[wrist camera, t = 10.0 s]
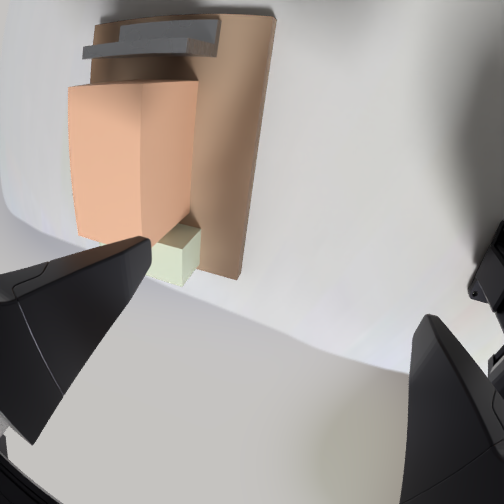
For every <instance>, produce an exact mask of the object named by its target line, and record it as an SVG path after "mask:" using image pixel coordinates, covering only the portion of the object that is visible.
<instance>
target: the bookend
mask: <svg viewBox="0 0 504 504" xmlns="http://www.w3.org/2000/svg"><path fill="white" fill-rule="evenodd" d="M221 22H222V21H220V20H214V19H205V20H174V21H159V22H148V23H138V24H130V25H123V26H120V34H119V42H113V43H105V44H98V45H92V46H85V47H83V58H82V59H103V58H135V57H162V56H187V57H215V58H217V51H218V44H219V37H220V29H221Z"/></svg>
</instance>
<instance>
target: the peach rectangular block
mask: <svg viewBox="0 0 504 504" xmlns="http://www.w3.org/2000/svg"><path fill="white" fill-rule="evenodd" d="M198 83H199V81H190V80H160V79H136V80H121V81H111V82H102V83H94V84H86V85H79V86H73V87H68V132H69V154H70V168H71V180H72V190H73V199H74V207H75V215H76V222H77V229H78V235H79V236H82V237H85V238H88V239H91V240H95V241H98V242H101V243H104V244H110V243H114V242H117V241H121V240H125V239H128V238H132V237H136V236H143V237H146V238H149V239H150V240H151V248H152V247H153V246H154V245H155V244H156V243H157V242H158V241H159V240H160V239H161V238H162V237H164V236H165V235H166V234H167V233H168V232H169V231H170V230H171V229H172V228H173V227H174V226H175V225H177V224H178V223H179V222H180V221H181V220H182V219H183V218H184V217H185V216H186V215H188V214H189V213H190V191H191V172H192V155H193V141H194V127H195V115H196V104H197V93H198Z"/></svg>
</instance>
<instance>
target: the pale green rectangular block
mask: <svg viewBox="0 0 504 504" xmlns="http://www.w3.org/2000/svg"><path fill="white" fill-rule="evenodd" d="M200 243H201V229H200V228H196V227H192V226H188V225H184V224H179V223H178V224H177V225H175V226H174V227H173V228H172V229H171V230H170V231H169V232H168V233H167V234H166V235H165V236H164V237H162V238H161V239H160V240H159V241H158V242H157V243H156V244H155V245H154V246H153V247H152V263H151V266H150V268H149V270H148V271H147V273H146V276H149V277H152V278H156V279H159V280H162V281H165V282H168V283H171V284H174V285H177V286H181V287H183V285H184V284H185V283H186V281H187V280H188V279H189V277H190V276H191V275H192V273H193V272H194V271H195V269H196V268H197V267H198V266H199V264H200ZM99 244H100V246H103V245H106V244H104V243H101V242H99Z"/></svg>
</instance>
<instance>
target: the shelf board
mask: <svg viewBox="0 0 504 504" xmlns="http://www.w3.org/2000/svg"><path fill="white" fill-rule="evenodd" d="M205 19H214V20H220V21H222V22H221V29H220V37H219V44H218V51H217V58H215V57H187V56H162V57H135V58H103V59H92V62H91V78H90V84H94V83H102V82H111V81H121V80H136V79H160V80H190V81H199V83H198V93H197V104H196V115H195V127H194V141H193V155H192V172H191V191H190V213H189V214H188V215H186V216H185V217H184V218H183V219H182V220H181V221H180V222H179V224H184V225H188V226H192V227H196V228H200V229H201V243H200V264H199V266H198V267H197V268H196V269H199V270H202V271H206V272H209V273H213V274H216V275H220V276H224V277H227V278H231V279H234V280H237V279H238V277H239V275H240V274H241V268H242V261H243V253H244V246H245V238H246V231H247V224H248V216H249V209H250V202H251V194H252V187H253V180H254V173H255V166H256V159H257V151H258V144H259V137H260V130H261V123H262V116H263V109H264V102H265V95H266V89H267V82H268V75H269V68H270V61H271V54H272V48H273V41H274V34H275V28H276V21H277V20H276V19H275V18H274V17H271V16H259V15H242V14H186V15H169V16H157V17H147V18H138V19H130V20H123V21H117V22H111V23H105V24H100V25H95V31H94V40H93V45H98V44H105V43H113V42H119V34H120V26H123V25H130V24H138V23H148V22H159V21H174V20H205Z"/></svg>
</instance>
